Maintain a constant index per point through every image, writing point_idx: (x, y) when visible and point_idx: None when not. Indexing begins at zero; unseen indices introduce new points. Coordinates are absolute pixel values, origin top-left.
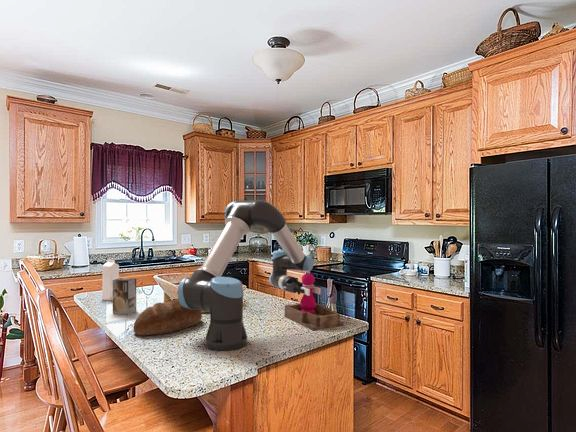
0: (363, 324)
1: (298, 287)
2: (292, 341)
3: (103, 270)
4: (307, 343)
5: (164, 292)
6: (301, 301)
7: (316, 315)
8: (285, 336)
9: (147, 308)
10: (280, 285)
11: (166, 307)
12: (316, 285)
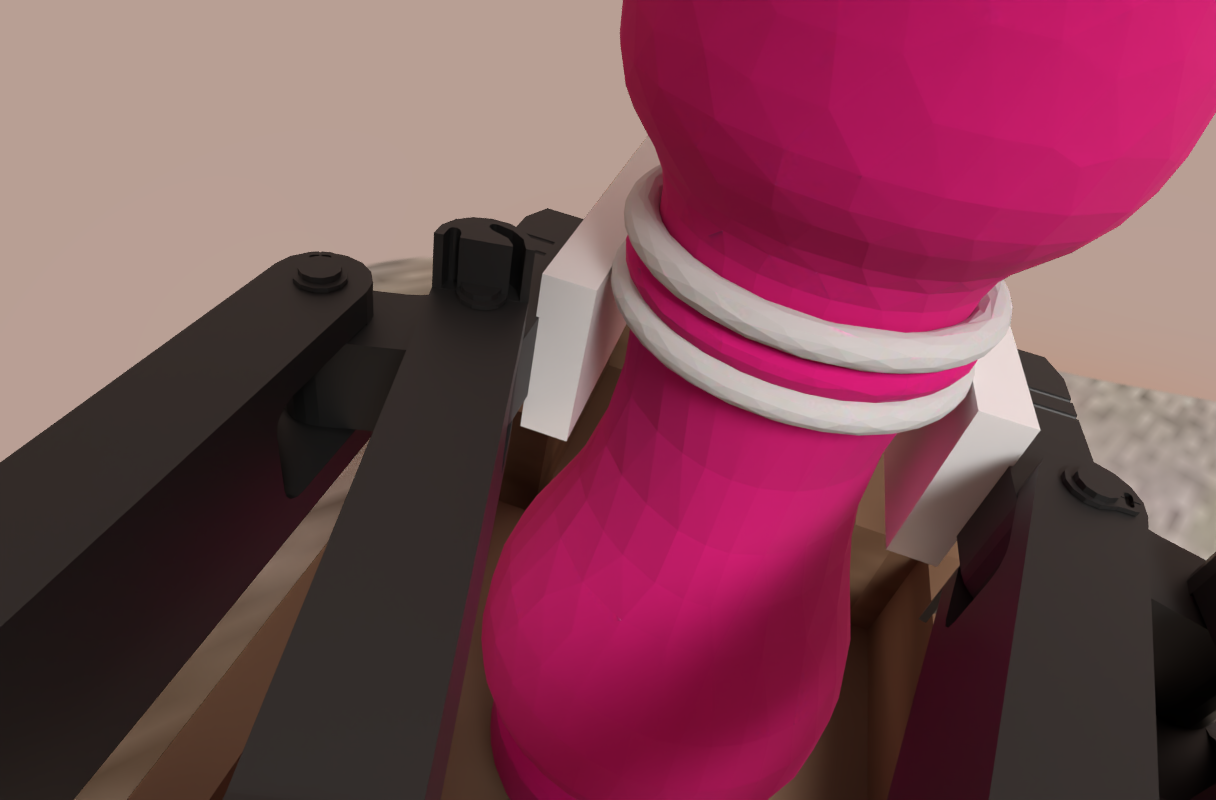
0: (404, 261)
1: (1120, 489)
2: (1175, 454)
3: None
4: (1076, 377)
5: None
6: (845, 657)
7: (478, 659)
8: (1211, 546)
9: None
10: None
11: None
12: (313, 253)
